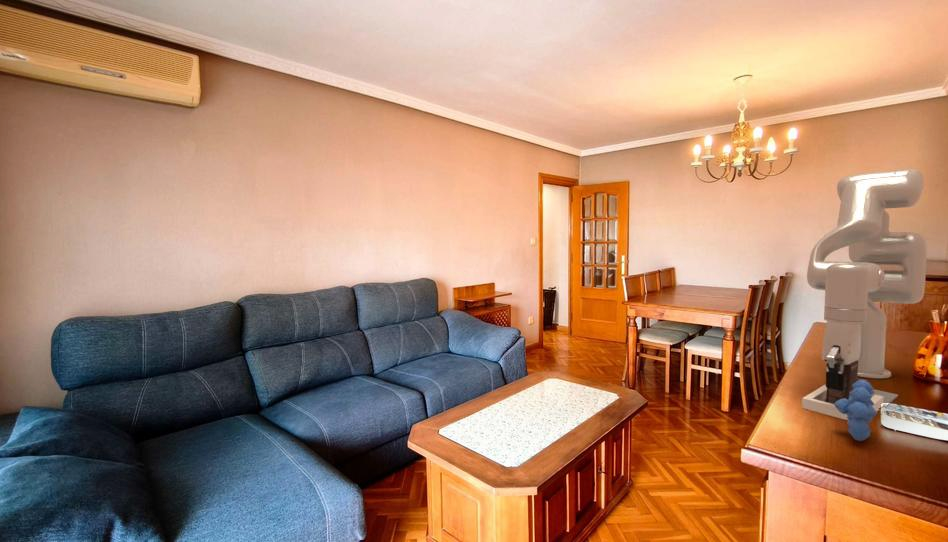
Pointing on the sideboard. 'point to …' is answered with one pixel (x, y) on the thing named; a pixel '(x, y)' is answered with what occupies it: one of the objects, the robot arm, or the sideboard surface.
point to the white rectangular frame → (817, 403)
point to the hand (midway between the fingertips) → (841, 385)
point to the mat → (885, 396)
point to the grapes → (858, 409)
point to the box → (849, 380)
